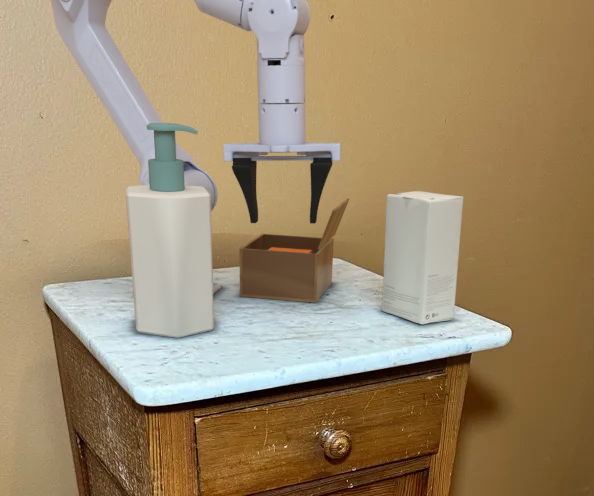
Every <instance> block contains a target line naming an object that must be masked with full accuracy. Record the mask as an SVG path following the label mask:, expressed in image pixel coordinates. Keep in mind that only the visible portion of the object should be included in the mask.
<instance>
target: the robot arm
mask: <svg viewBox="0 0 594 496" xmlns="http://www.w3.org/2000/svg"><path fill="white" fill-rule="evenodd" d="M112 1H113V0H50V3H51V8H52V12H53V18H54V23H55V26H56V30H57V32H58V34H59V36H60V38H61V39H62V41H63V43H64V45H65V46H66V47H67V49H68V51H69V52H70V54H71V56H72V58H73V59H74V60H75V62H76V63H77V65H78V68H80V70H81V72H82V73H83V75H84V76H85V78H86V79H87V81H88V83H89V84H90V86H91V87H92V89H93V91H94V92H95V94H96V96H97V97H98V99H99V100H100V102H101V103H102V105H103V107H104V108H105V110H106V112H107V113H108V115H109V116H110V118H111V119H112V121H113V123H114V124H115V126H116V128H117V129H118V131H119V132H120V134H121V136H122V137H123V139H124V140H125V142H126V144H127V145H128V147H129V149H130V150H131V152H132V153H133V155H134V156H135V158H136V160H137V161H138V163H139V174H138V175H139V176H138V181H139V183H140V186H142V185H150V184H149V168H148V160H149V159H155V146H154V130H148V129H147V125H148V124H149V123H164V122H163V120H162V118H161V117H160V115H159V113H158V111H157V110H156V109H155V107H154V105H153V103H152V101H151V100H150V99H149V97H148V95H147V93H146V91H144V89H143V87H142V86H141V84H140V82H139V81H138V79H137V77H136V76H135V74H134V72H133V71H132V69H131V68H130V65H129V64H128V63H127V61H126V59H125V57H124V56H123V54H122V53H121V51H120V49H119V47H118V46H117V44H116V43H115V41H114V39H113V37H112V36H111V34H110V33H109V31H108V29H107V28H106V21H107V15H108V10H109V7H110V6H111V3H112ZM194 3H195V5H196V6H197V9H198V10H199V11H200V12H201V13H203V14H204V15H208V16H210V17H212V18H214V19H217V20H219V21H222V22H224V23H227V24H229V25H232V26H234V27H236V28H238V29H240V30H244V31H245V32H252V33H253V34H254V35H255V37H256V75H257V76H256V77H257V79H256V81H257V113H258V115H257V116H258V117H257V118H258V142H240V143H239V142H236V143H224V144H223V145H222V148H223V149H222V150H223V162H232V165H231V170H232V173H233V175H234V176H235V179H236V181H237V182H238V185H239V187H240V189H241V192H242V194H243V197H244V200H245V203H246V207H247V211H248V215H249V221H250V224H257V223H258V221H259V207H258V196H257V170H258V169H257V166H258V163H257V162H263V161H264V162H265V161H266V162H275V161H276V162H277V161H278V162H279V161H281V162H283V161H285V162H286V161H287V162H289V161H290V162H291V161H293V162H296V161H300V162H301V161H305V162H306V161H312V162H311V163H310V164H309V169H310V172H309V173H310V206H309V207H310V208H309V224H317V222H318V221H317V219H318V210H319V205H320V200H321V198H322V194H323V191H324V188H325V184H326V182H327V179H328V177H329V174H330V172H331V169H332V167H333V165H334V163H333V162H341V161H342V143H341V142H308V141H307V142H306V59H305V34H306V33H307V30H308V29H309V26H310V21H311V10H310V5H309V3H308V0H194ZM272 153H274V154H287V153H288V154H289V153H296V155H269V154H272ZM176 159H180V160H183V161H184V185H187V186H200V187H204V188H205V189H206V190H207V192H208V193H209V194H210V195H211V212H212V211H214V209H215V207H216V205H217V202H218V194H219V193H218V188H217V185H216V182H215V180H214V179H213V177H212V176H211V175H210V174H209V173H208V172H207V171H206V170H204V169H202V168H201V167H200V166H199V165H198V164H197V163H196V161H195V160H194V159H193V157H192V155H191V154H190V153H189V152H187V151H186V150H185V149H183V148H182V147H181V146H179V145H178V143H176ZM211 228H212V229H213V227H212V226H211ZM212 267H213V264H212ZM213 268H214V267H213ZM222 288H223V283H217V282H213V295H214V294H215V293H217V292H218V291H219V290H221V289H222Z"/></svg>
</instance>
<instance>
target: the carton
mask: <svg viewBox="0 0 594 496" xmlns="http://www.w3.org/2000/svg"><path fill="white" fill-rule="evenodd" d="M321 239H322V237H316V236H303V235H301V236H300V235H287V234H285V235H284V234H271V233H260V235H257V236H256V237H255V238H254V239H252V240H250V241H249V242H247V243H246V244H244V245H242V246H241V247H240V248H239V297H241V298H254V299H255V298H256V299H266V300H277V301H289V302H299V303H301V302H302V303H312V304H313V303H314V304H317V302H318V301H319V300H320V299H321V297H322V296H323V295H324V293H325V292H326V291H327V290H328V289H329V287H330V286H331V285H332V283H333V262H334V242H335V240H334V238H331V239H330V240H329V241H328V242H327V243H326V244H325V245H324V246H323V247H322V248H321V249H320V250H319V249H318V247H319V244H320V241H321ZM271 247H276V248H290V249H303V250H312V253H299V252H286V251H272V250H268V249H270V248H271Z"/></svg>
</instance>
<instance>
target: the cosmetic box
mask: <svg viewBox="0 0 594 496" xmlns="http://www.w3.org/2000/svg"><path fill="white" fill-rule="evenodd" d="M464 198H465V197H464V196H462V195H461V196H460V195H453V194H444V193H442V194H441V193H436V192H428V191H423V190H422V191H421V190H413V191H405V192H396V193H388V194H387V195H386V203H385V204H386V206H385V207H386V208H385V229H384V230H385V232H384V256H383V257H384V258H383V279H382V280H383V281H382V302H381V303H382V305H381V311H382V312H383V313H387V314H390V315H393V316H396V317H398V318H401V319H405V320H408V321H410V322H413V323H416V324H419V325H426V324H430V323H438V322H446V321H451V320H454V319H453V318H454V316H455V307H456V306H455V305H456V296H457V295H456V294H457V281H458V271H459V256H460V245H461V234H462V233H461V232H462V218H463V208H464Z"/></svg>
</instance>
